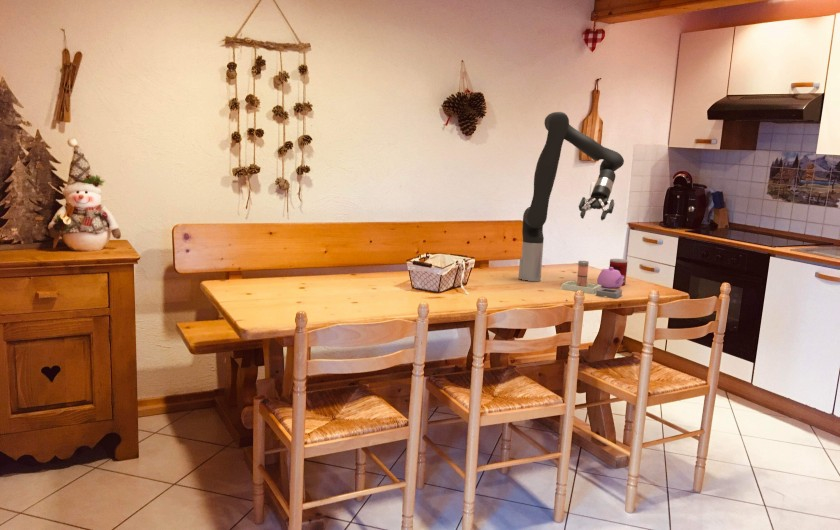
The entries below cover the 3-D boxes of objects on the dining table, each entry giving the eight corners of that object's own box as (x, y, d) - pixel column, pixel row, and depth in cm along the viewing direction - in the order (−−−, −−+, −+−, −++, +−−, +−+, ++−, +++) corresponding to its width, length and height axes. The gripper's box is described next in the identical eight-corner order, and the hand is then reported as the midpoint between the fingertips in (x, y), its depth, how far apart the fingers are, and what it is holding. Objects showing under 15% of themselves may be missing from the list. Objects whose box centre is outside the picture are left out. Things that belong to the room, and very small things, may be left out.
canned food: (623, 282, 323) (625, 259, 321) (626, 286, 315) (629, 261, 313) (606, 281, 324) (608, 258, 322) (609, 285, 316) (611, 260, 314)
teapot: (609, 284, 317) (611, 264, 315) (631, 291, 303) (633, 270, 302) (590, 285, 313) (592, 264, 311) (611, 292, 299) (613, 270, 298)
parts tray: (561, 290, 298) (561, 283, 297) (569, 287, 306) (569, 280, 306) (593, 295, 291) (594, 288, 290) (600, 292, 299) (601, 285, 299)
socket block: (593, 297, 286) (594, 291, 286) (601, 293, 295) (602, 287, 295) (616, 301, 282) (616, 294, 281) (623, 296, 291) (623, 290, 290)
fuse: (574, 289, 298) (577, 261, 296) (578, 288, 301) (580, 260, 299) (584, 291, 296) (586, 262, 293) (587, 289, 299) (590, 261, 297)
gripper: (584, 183, 308) (574, 210, 300) (617, 185, 301) (607, 213, 293) (587, 195, 313) (577, 222, 305) (619, 197, 306) (609, 225, 298)
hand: (591, 218), depth 299 cm, fingers open, 8 cm apart
